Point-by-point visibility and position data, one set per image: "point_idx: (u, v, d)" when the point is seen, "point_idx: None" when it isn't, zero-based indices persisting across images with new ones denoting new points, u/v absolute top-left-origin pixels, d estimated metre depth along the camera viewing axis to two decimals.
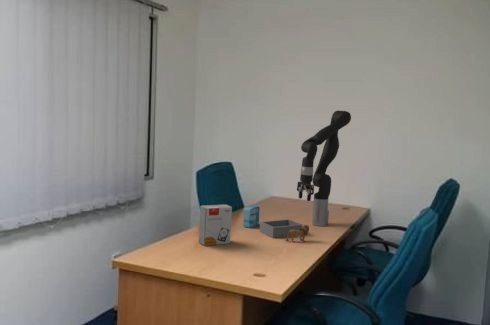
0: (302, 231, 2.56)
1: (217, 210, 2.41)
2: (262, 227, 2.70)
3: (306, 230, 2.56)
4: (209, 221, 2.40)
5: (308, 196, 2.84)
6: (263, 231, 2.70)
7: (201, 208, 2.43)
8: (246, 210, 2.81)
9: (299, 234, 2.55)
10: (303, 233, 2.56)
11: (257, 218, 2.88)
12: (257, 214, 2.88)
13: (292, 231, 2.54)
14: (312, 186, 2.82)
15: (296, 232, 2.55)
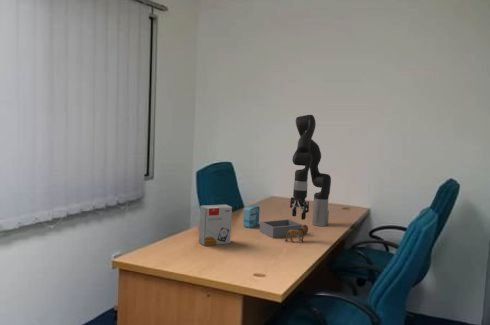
0: (301, 231, 2.56)
1: (217, 210, 2.41)
2: (262, 227, 2.70)
3: (305, 230, 2.56)
4: (209, 221, 2.40)
5: (302, 214, 2.51)
6: (263, 231, 2.70)
7: (201, 208, 2.43)
8: (246, 210, 2.81)
9: (298, 234, 2.55)
10: (302, 233, 2.56)
11: (257, 218, 2.88)
12: (257, 214, 2.88)
13: (291, 231, 2.54)
14: (307, 203, 2.49)
15: (295, 232, 2.55)
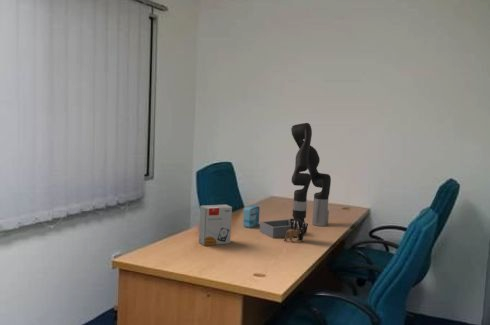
0: None
1: (217, 210, 2.41)
2: (262, 227, 2.70)
3: None
4: (209, 221, 2.40)
5: (300, 235, 2.54)
6: (263, 231, 2.70)
7: (201, 208, 2.43)
8: (246, 210, 2.81)
9: (297, 234, 2.55)
10: None
11: (257, 218, 2.88)
12: (257, 214, 2.88)
13: (290, 231, 2.54)
14: (305, 225, 2.51)
15: (294, 232, 2.55)
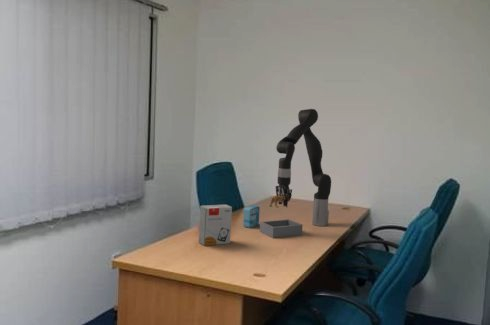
0: None
1: (217, 210, 2.41)
2: (262, 227, 2.70)
3: None
4: (209, 221, 2.40)
5: (285, 201, 2.67)
6: (263, 231, 2.70)
7: (201, 208, 2.43)
8: (246, 210, 2.81)
9: (282, 200, 2.68)
10: None
11: (257, 218, 2.88)
12: (257, 214, 2.88)
13: (275, 197, 2.67)
14: (290, 191, 2.64)
15: (279, 198, 2.68)
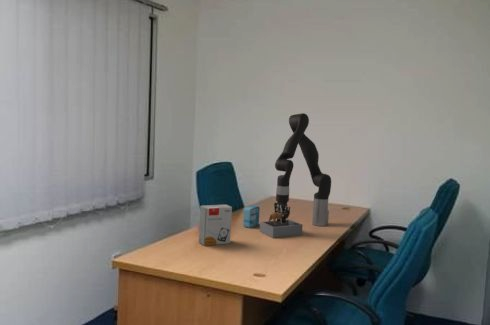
0: None
1: (217, 210, 2.41)
2: (262, 227, 2.70)
3: None
4: (209, 221, 2.40)
5: (283, 218, 2.69)
6: (263, 231, 2.70)
7: (201, 208, 2.43)
8: (246, 210, 2.81)
9: (280, 217, 2.70)
10: None
11: (257, 218, 2.88)
12: (257, 214, 2.88)
13: (274, 214, 2.69)
14: (288, 209, 2.65)
15: (277, 215, 2.69)
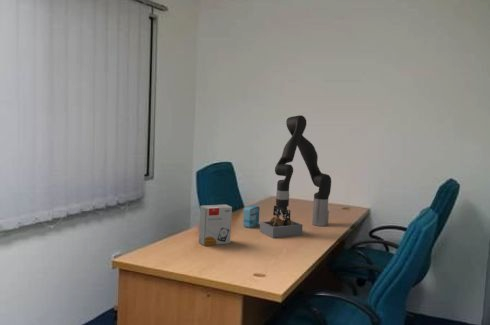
0: None
1: (217, 210, 2.41)
2: (262, 227, 2.70)
3: (288, 223, 2.72)
4: (209, 221, 2.40)
5: (284, 222, 2.67)
6: (263, 231, 2.70)
7: (201, 208, 2.43)
8: (246, 210, 2.81)
9: (281, 223, 2.70)
10: None
11: (257, 218, 2.88)
12: (257, 214, 2.88)
13: (276, 217, 2.70)
14: (288, 211, 2.65)
15: (279, 220, 2.70)
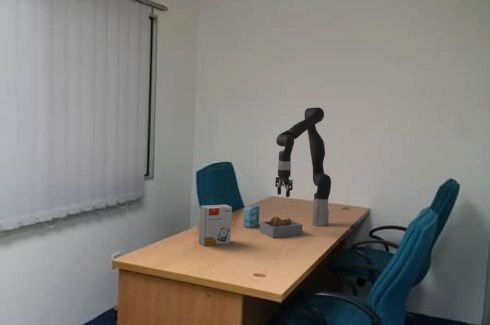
0: (285, 222, 2.71)
1: (217, 210, 2.41)
2: (262, 227, 2.70)
3: (288, 223, 2.72)
4: (209, 221, 2.40)
5: (287, 192, 2.69)
6: (263, 231, 2.70)
7: (201, 208, 2.43)
8: (246, 210, 2.81)
9: (281, 223, 2.70)
10: (285, 224, 2.71)
11: (257, 218, 2.88)
12: (257, 214, 2.88)
13: (276, 217, 2.70)
14: (290, 181, 2.67)
15: (279, 220, 2.70)
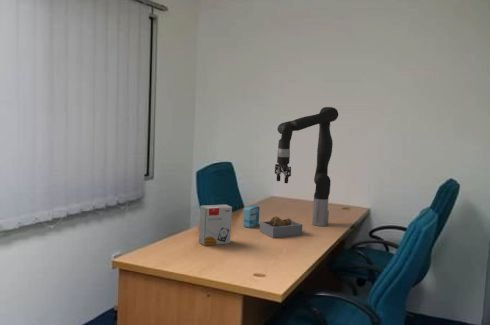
0: (285, 222, 2.71)
1: (217, 210, 2.41)
2: (262, 227, 2.70)
3: (288, 223, 2.72)
4: (209, 221, 2.40)
5: (285, 178, 2.80)
6: (263, 231, 2.70)
7: (201, 208, 2.43)
8: (246, 210, 2.81)
9: (281, 223, 2.70)
10: (285, 224, 2.71)
11: (257, 218, 2.88)
12: (257, 214, 2.88)
13: (276, 217, 2.70)
14: (289, 168, 2.77)
15: (279, 220, 2.70)
